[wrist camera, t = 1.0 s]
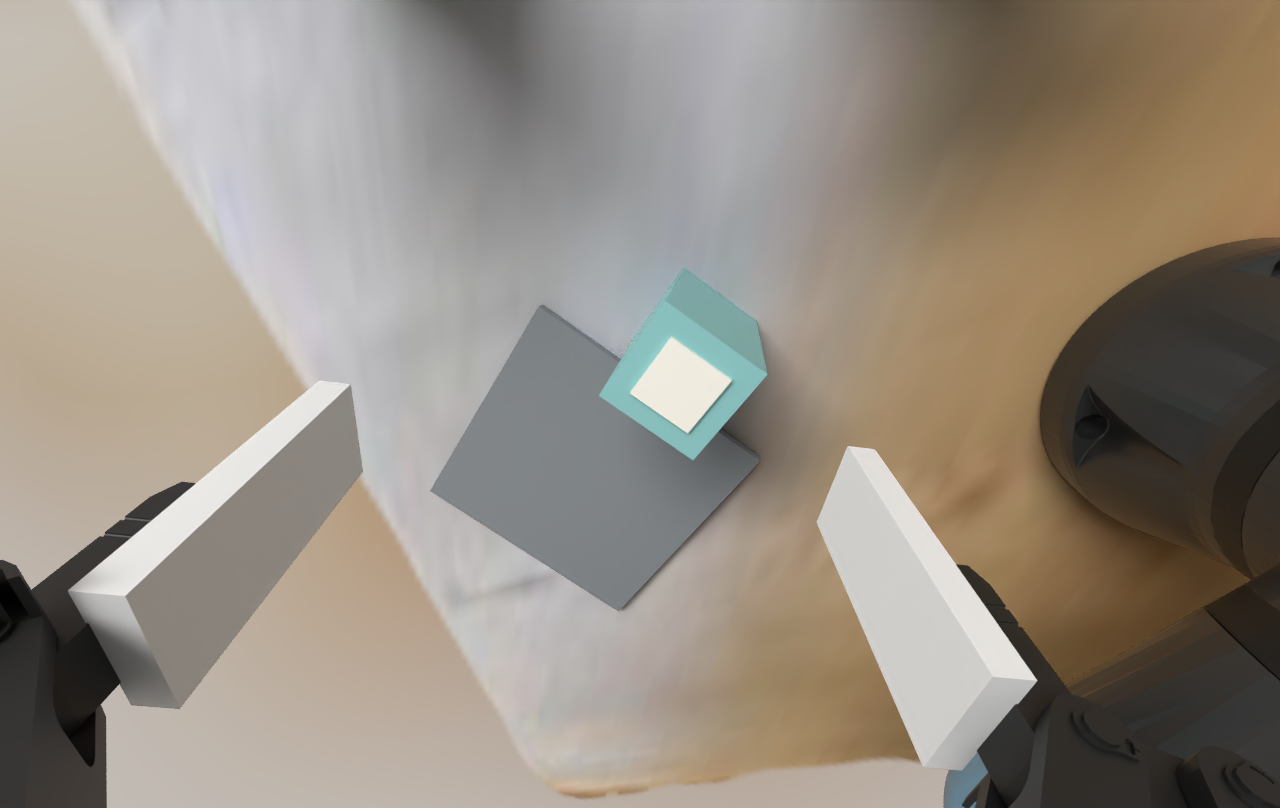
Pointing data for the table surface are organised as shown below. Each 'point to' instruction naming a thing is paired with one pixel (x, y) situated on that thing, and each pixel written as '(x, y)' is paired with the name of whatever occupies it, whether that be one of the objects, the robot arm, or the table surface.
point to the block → (688, 366)
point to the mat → (582, 468)
